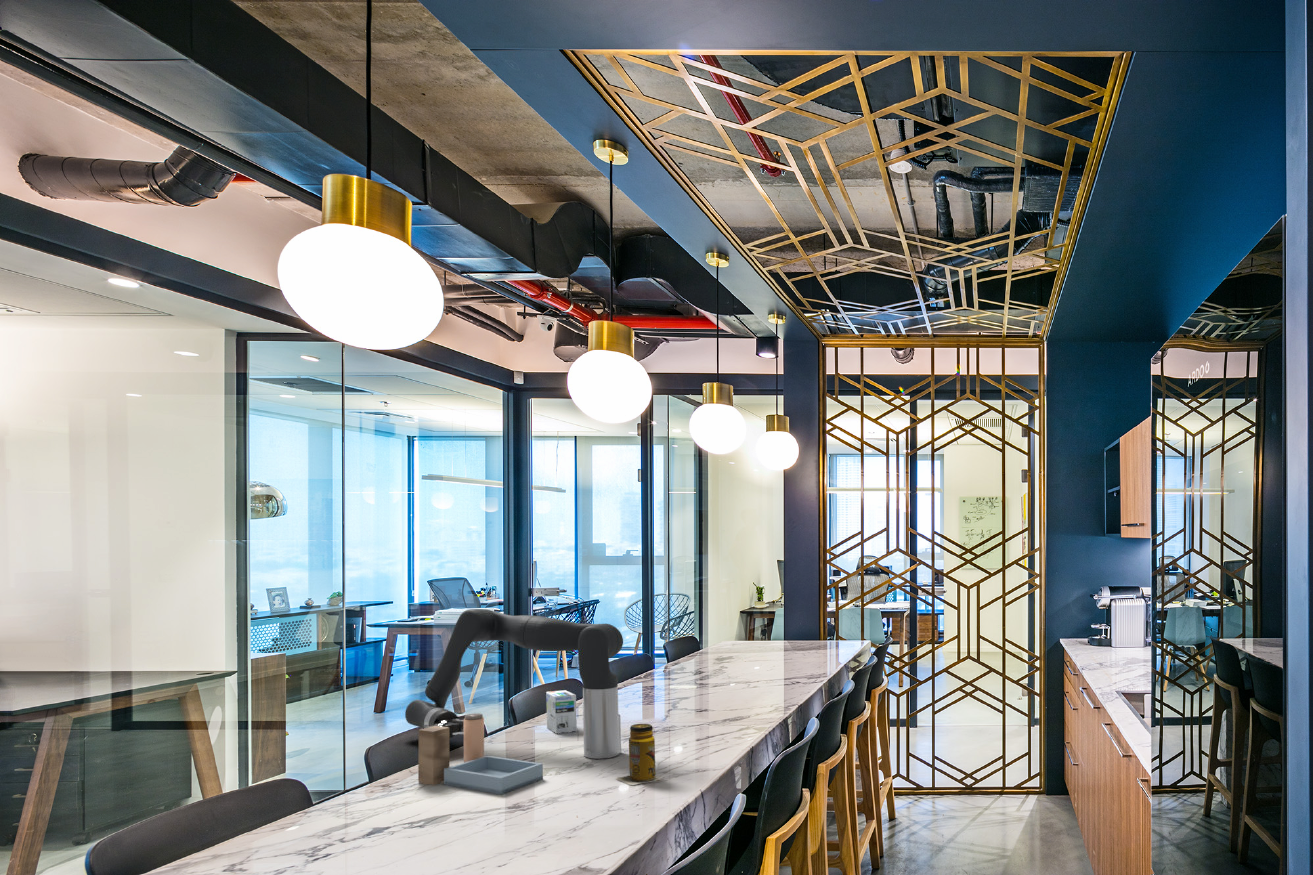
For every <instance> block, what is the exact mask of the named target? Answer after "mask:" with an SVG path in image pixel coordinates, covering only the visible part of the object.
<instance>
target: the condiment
mask: <svg viewBox="0 0 1313 875" xmlns="http://www.w3.org/2000/svg"><path fill="white" fill-rule="evenodd" d="M629 730H630V731H629V737H628V756H629V757H628V760H629V761H628V763H629V764H628V766H629V768H628V769H629V775H625V776H619V777H615V779H616V780H618V781H620V782H622V783H624V784H627V785H629V786H635V785H636V786H637V785H641V784H645V783H646V784H647V783H652V782H657V781H661V780H663V778H662V777H659V776H656V753H655V751H656V750H655V745H656V744H655V737H654V736H653V734H654V732H653V725H652V724H649V723H636V724H634V723H633V724H632V725H630V728H629Z"/></svg>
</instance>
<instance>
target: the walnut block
mask: <svg viewBox="0 0 1313 875" xmlns="http://www.w3.org/2000/svg"><path fill="white" fill-rule="evenodd" d="M417 757H418V759H417V760H418V763H417V764H418V769H417V770H418V771H417V772H418V776H417V777H418V779H417V780H418V781H417V782H419V784H424V785H429V784H430V786H435V784H436V785H439V784H441V782H442V783H444V769H445V768H448V767H450V739H449V727H441V726H432V727H428V728H424V729H423V728H420V729H418V756H417Z"/></svg>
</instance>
